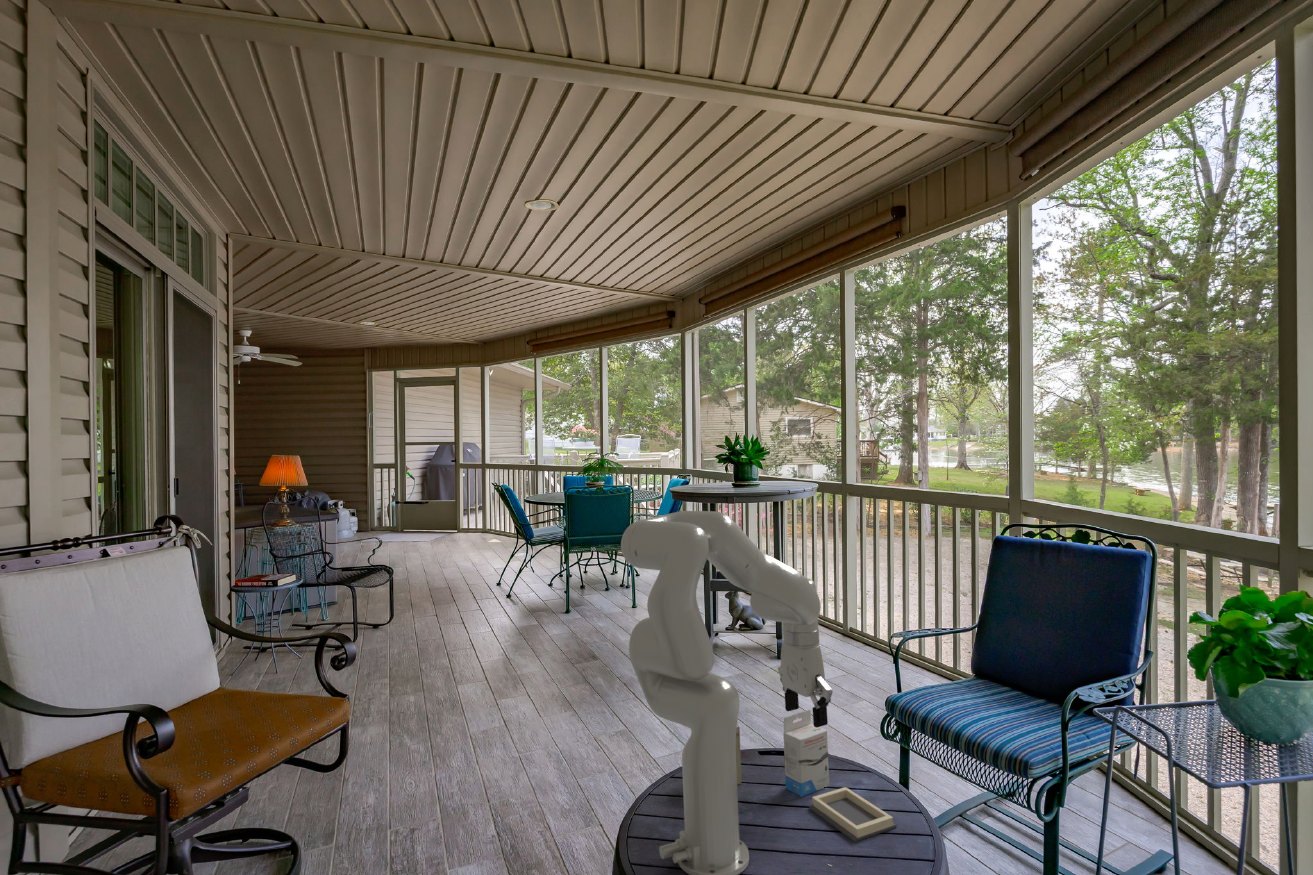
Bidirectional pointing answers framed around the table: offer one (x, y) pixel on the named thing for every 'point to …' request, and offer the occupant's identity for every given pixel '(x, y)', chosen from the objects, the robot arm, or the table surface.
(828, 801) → the cream picture frame
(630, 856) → the table surface
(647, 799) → the table surface
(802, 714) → the ink box
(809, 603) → the robot arm
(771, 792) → the table surface
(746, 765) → the table surface
